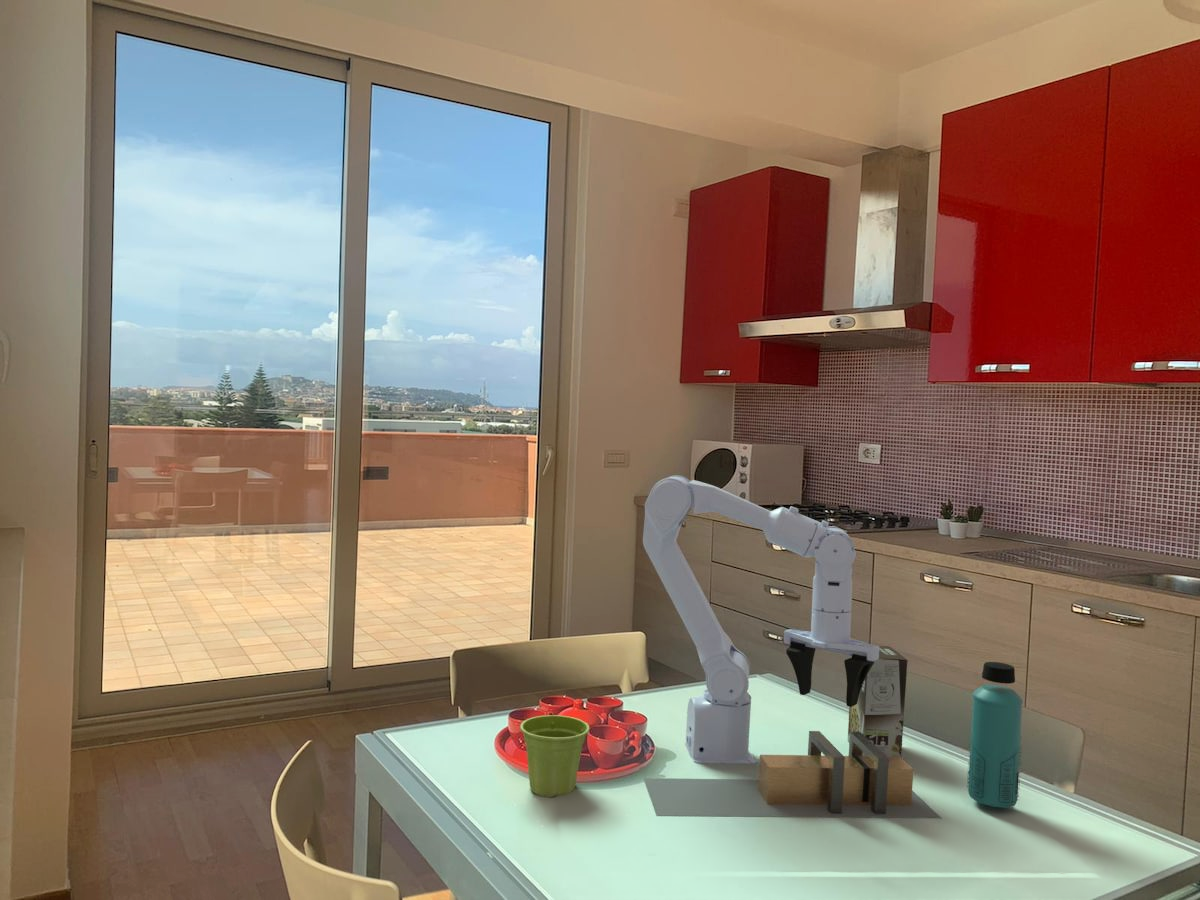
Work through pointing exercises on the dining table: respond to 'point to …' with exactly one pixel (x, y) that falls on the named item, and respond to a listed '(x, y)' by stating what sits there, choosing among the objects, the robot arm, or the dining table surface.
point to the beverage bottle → (995, 739)
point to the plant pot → (553, 752)
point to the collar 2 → (879, 772)
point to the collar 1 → (836, 774)
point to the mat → (753, 801)
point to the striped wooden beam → (810, 780)
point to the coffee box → (882, 703)
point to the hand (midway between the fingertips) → (827, 699)
